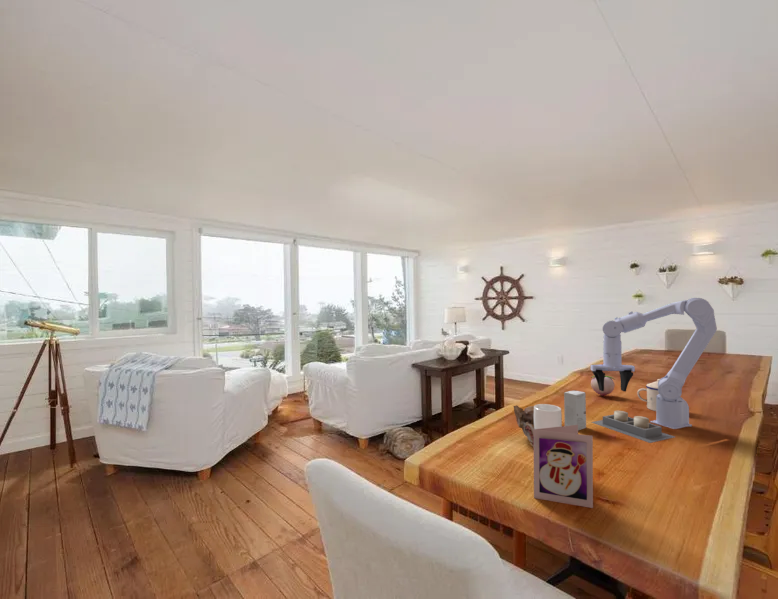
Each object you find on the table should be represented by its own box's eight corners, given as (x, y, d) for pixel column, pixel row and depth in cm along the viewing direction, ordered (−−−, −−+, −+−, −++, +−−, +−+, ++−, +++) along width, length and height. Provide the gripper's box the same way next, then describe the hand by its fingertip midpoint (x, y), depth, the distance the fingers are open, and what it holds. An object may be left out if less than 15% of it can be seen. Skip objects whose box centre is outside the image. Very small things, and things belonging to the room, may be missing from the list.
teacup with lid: (675, 408, 146) (675, 378, 146) (675, 414, 139) (674, 383, 139) (638, 403, 153) (638, 375, 153) (636, 408, 146) (636, 378, 146)
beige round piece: (619, 423, 128) (619, 410, 128) (630, 426, 124) (630, 413, 124) (611, 424, 127) (611, 411, 127) (622, 428, 123) (622, 414, 123)
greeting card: (533, 499, 81) (533, 430, 81) (533, 483, 88) (533, 420, 88) (593, 510, 77) (593, 437, 77) (588, 492, 84) (588, 425, 84)
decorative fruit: (595, 398, 161) (595, 375, 161) (588, 393, 169) (588, 371, 169) (618, 399, 160) (618, 375, 160) (610, 394, 168) (610, 371, 168)
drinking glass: (559, 473, 93) (559, 412, 93) (531, 466, 97) (531, 408, 97) (563, 462, 99) (563, 406, 99) (536, 457, 103) (536, 402, 102)
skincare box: (576, 432, 121) (576, 395, 121) (563, 428, 125) (563, 392, 125) (586, 428, 124) (586, 392, 124) (573, 425, 128) (573, 389, 128)
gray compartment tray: (615, 419, 134) (615, 410, 134) (675, 438, 115) (675, 428, 115) (590, 423, 129) (590, 414, 129) (650, 444, 111) (650, 434, 111)
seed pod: (519, 408, 125) (502, 403, 114) (570, 405, 116) (557, 400, 105) (524, 450, 120) (506, 450, 109) (578, 451, 111) (565, 450, 100)
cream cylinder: (639, 429, 122) (639, 415, 122) (652, 433, 118) (651, 419, 118) (630, 431, 120) (630, 417, 120) (643, 435, 117) (643, 420, 117)
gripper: (596, 355, 133) (596, 393, 134) (639, 355, 132) (639, 393, 132) (587, 352, 141) (588, 388, 141) (628, 352, 139) (628, 388, 139)
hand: (612, 390), depth 137 cm, fingers open, 7 cm apart
